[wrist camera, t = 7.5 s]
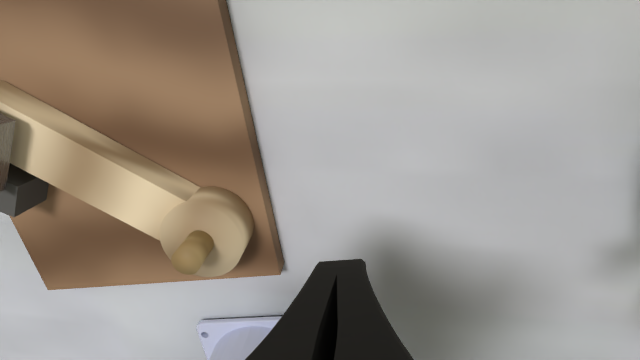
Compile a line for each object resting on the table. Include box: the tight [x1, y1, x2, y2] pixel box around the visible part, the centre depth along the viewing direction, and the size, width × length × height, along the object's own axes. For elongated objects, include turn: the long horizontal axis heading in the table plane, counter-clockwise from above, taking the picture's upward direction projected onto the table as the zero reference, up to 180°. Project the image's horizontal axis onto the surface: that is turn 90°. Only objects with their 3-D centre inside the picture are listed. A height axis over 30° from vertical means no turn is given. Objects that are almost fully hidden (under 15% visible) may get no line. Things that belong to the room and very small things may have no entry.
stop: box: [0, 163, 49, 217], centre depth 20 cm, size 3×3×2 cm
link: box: [0, 80, 254, 277], centre depth 19 cm, size 15×4×4 cm, turn 60°
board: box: [0, 0, 284, 290], centre depth 21 cm, size 18×16×1 cm
